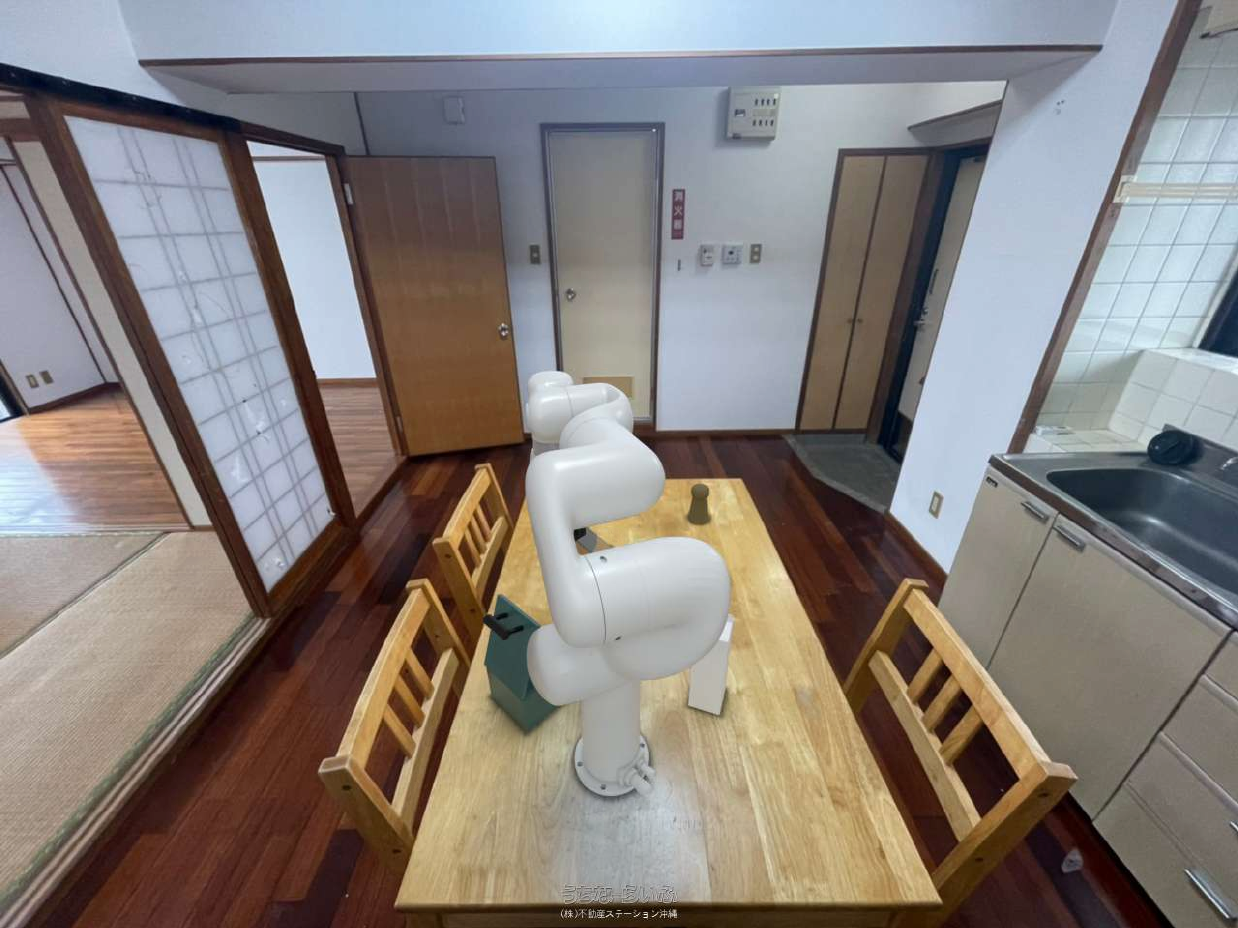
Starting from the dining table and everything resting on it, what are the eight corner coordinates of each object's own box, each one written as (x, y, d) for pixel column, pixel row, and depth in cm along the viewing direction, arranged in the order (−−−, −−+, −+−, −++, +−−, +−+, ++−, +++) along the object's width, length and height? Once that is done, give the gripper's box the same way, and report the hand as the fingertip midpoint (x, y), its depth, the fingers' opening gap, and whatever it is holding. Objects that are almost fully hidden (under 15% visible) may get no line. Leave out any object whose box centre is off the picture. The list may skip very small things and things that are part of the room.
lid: (501, 593, 92) (475, 600, 88) (541, 625, 85) (515, 633, 81) (487, 663, 95) (461, 672, 91) (524, 699, 89) (498, 711, 84)
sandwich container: (608, 565, 133) (606, 517, 126) (549, 562, 135) (545, 514, 128) (611, 545, 141) (610, 498, 134) (556, 543, 142) (552, 496, 135)
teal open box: (546, 654, 108) (543, 625, 104) (582, 685, 101) (581, 655, 97) (491, 695, 99) (485, 665, 95) (527, 732, 92) (523, 701, 88)
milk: (695, 681, 102) (702, 595, 92) (726, 690, 100) (736, 603, 90) (687, 706, 97) (694, 618, 87) (719, 716, 95) (730, 627, 85)
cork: (684, 514, 154) (686, 482, 149) (702, 511, 156) (705, 479, 151) (693, 525, 149) (695, 493, 144) (711, 521, 151) (714, 489, 145)
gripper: (506, 437, 91) (516, 518, 99) (572, 468, 80) (577, 556, 88) (539, 424, 96) (546, 502, 104) (606, 452, 85) (608, 537, 93)
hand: (561, 527), depth 96 cm, fingers open, 9 cm apart
